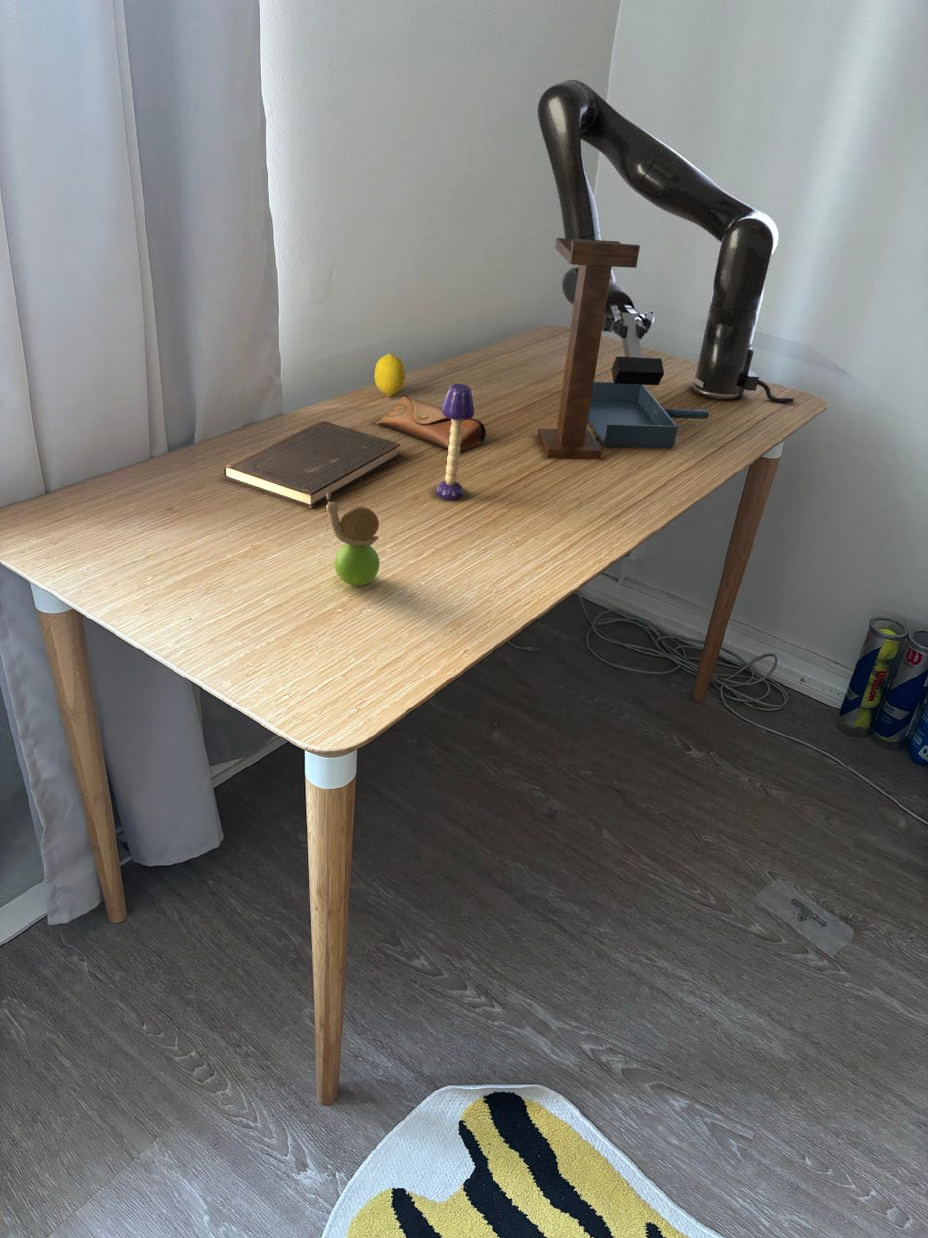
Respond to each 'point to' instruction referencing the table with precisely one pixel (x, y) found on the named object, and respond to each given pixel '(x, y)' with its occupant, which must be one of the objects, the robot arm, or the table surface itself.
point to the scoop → (634, 417)
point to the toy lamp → (455, 437)
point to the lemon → (389, 374)
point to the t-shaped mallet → (635, 360)
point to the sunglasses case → (431, 424)
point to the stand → (584, 343)
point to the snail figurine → (355, 543)
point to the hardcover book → (313, 463)
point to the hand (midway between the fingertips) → (633, 332)
